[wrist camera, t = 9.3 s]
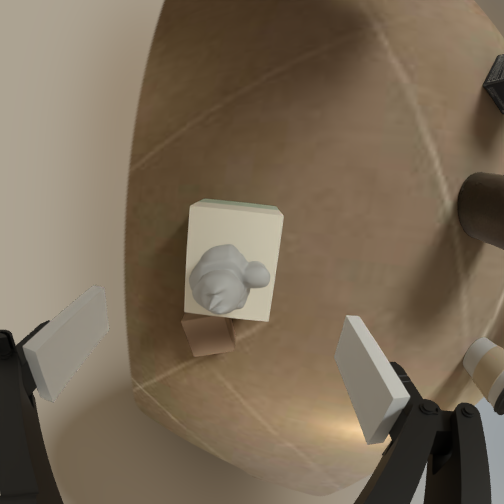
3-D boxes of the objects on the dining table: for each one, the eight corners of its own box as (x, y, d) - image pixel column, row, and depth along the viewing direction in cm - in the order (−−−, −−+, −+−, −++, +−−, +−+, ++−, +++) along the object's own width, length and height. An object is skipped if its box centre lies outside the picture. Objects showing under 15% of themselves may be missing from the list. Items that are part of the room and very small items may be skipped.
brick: (187, 306, 36) (180, 321, 32) (226, 299, 35) (223, 314, 32) (199, 339, 37) (194, 356, 33) (235, 333, 37) (234, 350, 33)
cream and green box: (204, 198, 32) (190, 205, 24) (275, 206, 32) (283, 215, 25) (198, 282, 35) (184, 312, 27) (264, 290, 35) (268, 321, 27)
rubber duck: (188, 245, 25) (162, 276, 18) (263, 232, 25) (268, 258, 17) (201, 302, 27) (184, 349, 19) (272, 291, 26) (280, 337, 19)
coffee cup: (451, 375, 40) (492, 426, 25) (470, 333, 38) (521, 379, 23) (480, 370, 40) (520, 413, 26) (498, 330, 38) (545, 370, 23)
